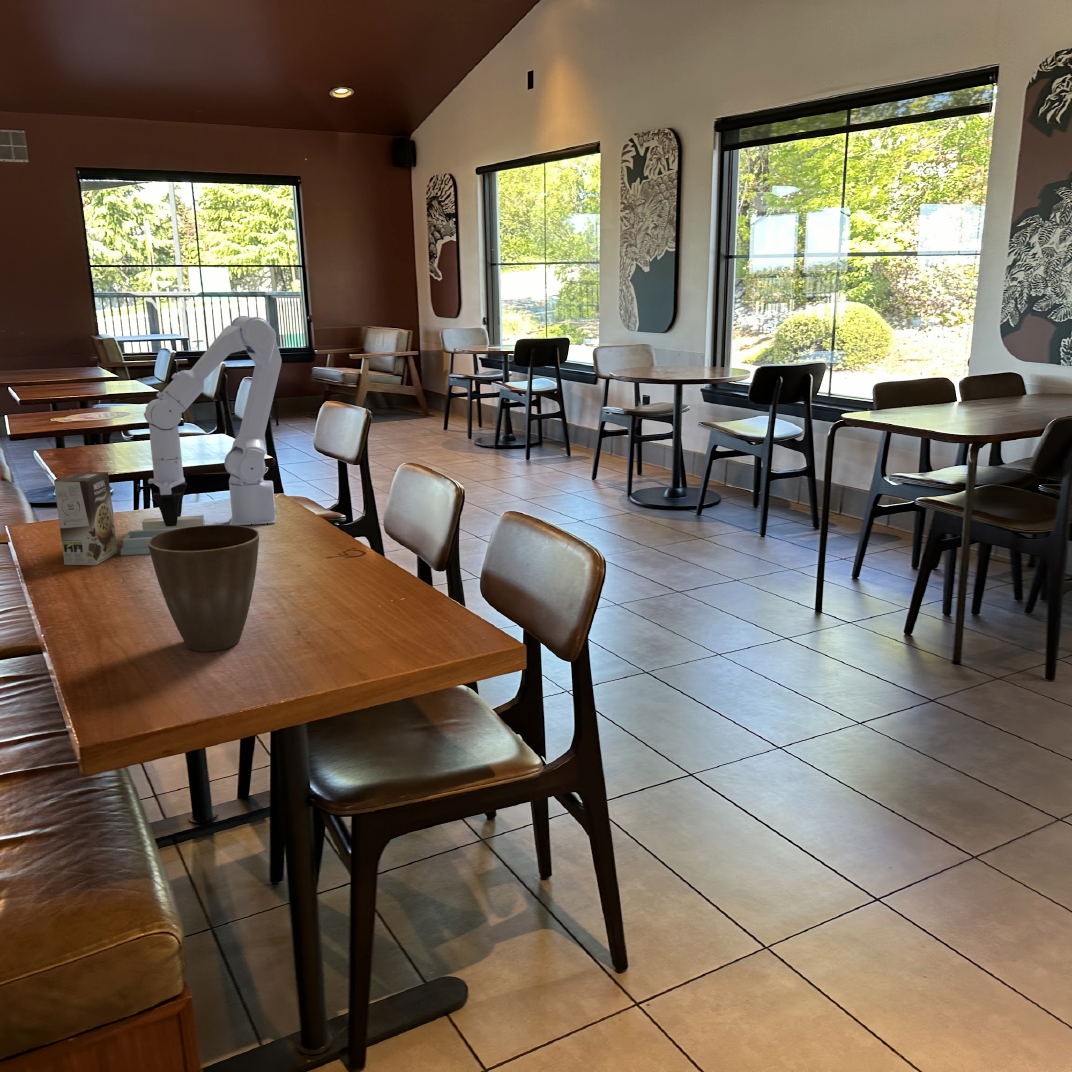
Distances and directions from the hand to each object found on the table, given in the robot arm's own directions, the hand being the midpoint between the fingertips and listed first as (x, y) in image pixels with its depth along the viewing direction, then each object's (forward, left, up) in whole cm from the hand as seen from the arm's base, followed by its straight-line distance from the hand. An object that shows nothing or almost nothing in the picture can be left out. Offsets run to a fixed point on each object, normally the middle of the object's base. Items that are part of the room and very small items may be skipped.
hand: (173, 521), depth 200 cm
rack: (0, +12, -2) cm, 12 cm away
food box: (+13, +17, -3) cm, 22 cm away
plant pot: (-13, +69, -3) cm, 71 cm away
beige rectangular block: (0, 0, -3) cm, 3 cm away
